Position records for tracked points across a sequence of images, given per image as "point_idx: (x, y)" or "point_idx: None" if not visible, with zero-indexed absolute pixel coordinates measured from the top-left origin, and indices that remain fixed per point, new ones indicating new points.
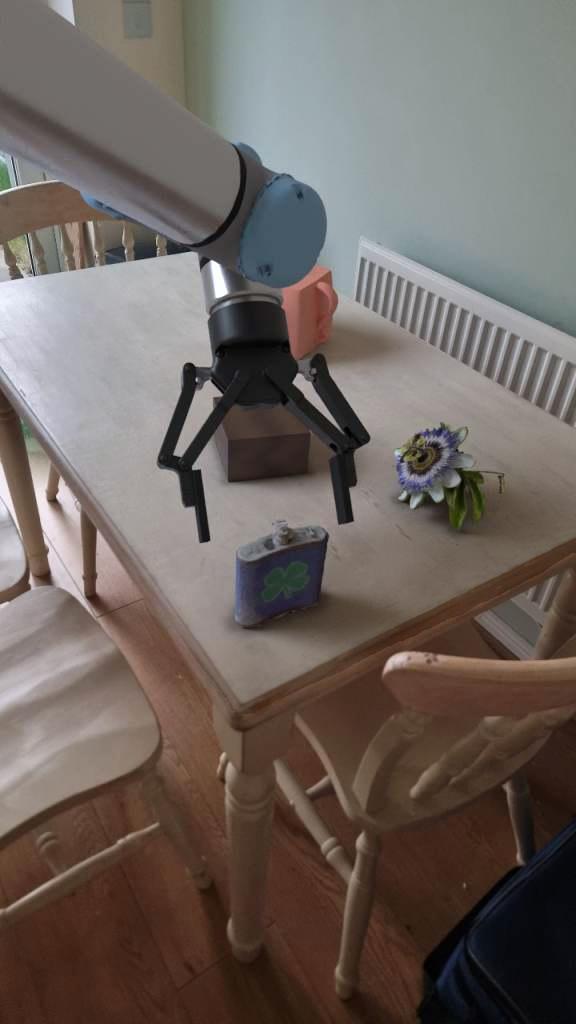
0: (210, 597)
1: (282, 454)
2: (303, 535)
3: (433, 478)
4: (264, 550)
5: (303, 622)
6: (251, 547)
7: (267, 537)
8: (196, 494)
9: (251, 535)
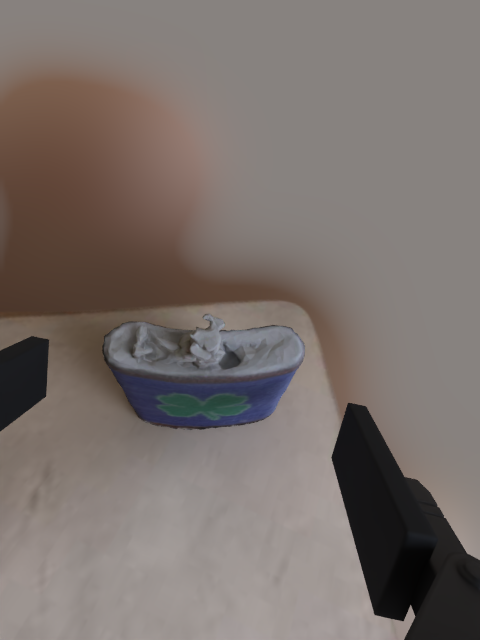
0: (294, 470)
1: None
2: (153, 352)
3: None
4: (246, 348)
5: None
6: (271, 357)
7: (227, 371)
8: (402, 474)
9: (158, 619)
